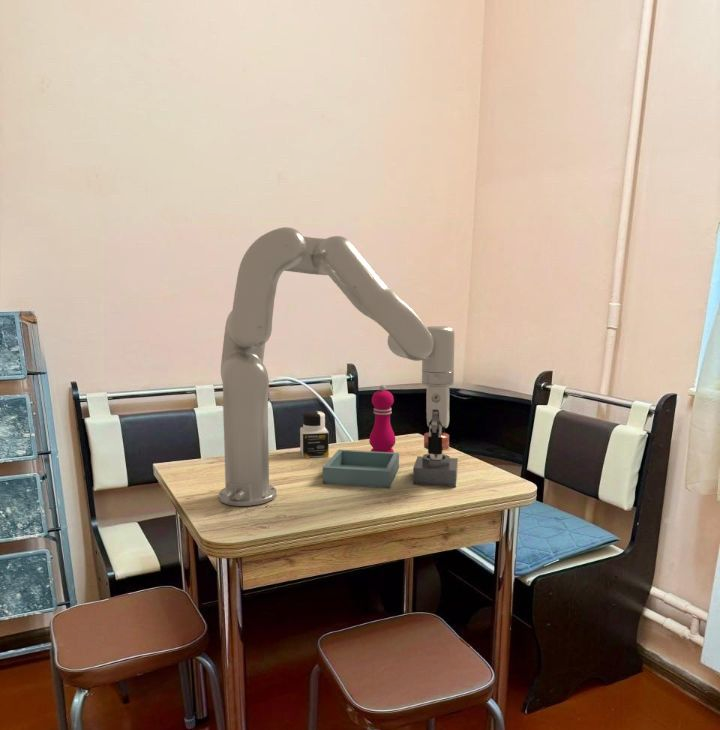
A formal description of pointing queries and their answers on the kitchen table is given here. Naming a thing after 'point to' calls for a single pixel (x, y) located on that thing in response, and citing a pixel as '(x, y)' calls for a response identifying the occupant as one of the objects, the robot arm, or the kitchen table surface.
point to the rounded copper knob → (444, 445)
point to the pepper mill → (382, 422)
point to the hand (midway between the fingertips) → (436, 448)
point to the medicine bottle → (314, 435)
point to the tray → (361, 468)
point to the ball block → (435, 471)
